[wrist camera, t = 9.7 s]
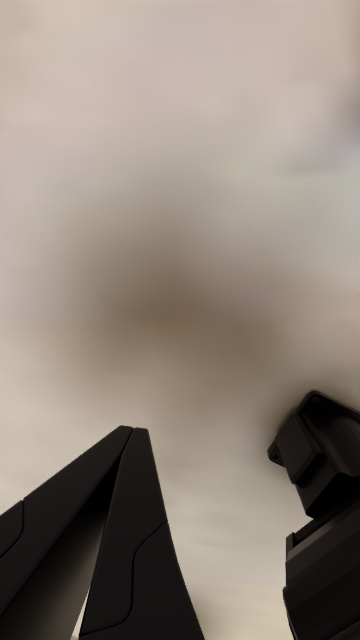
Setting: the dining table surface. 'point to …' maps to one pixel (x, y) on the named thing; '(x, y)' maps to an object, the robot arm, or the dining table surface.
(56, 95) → the dining table surface
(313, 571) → the robot arm
